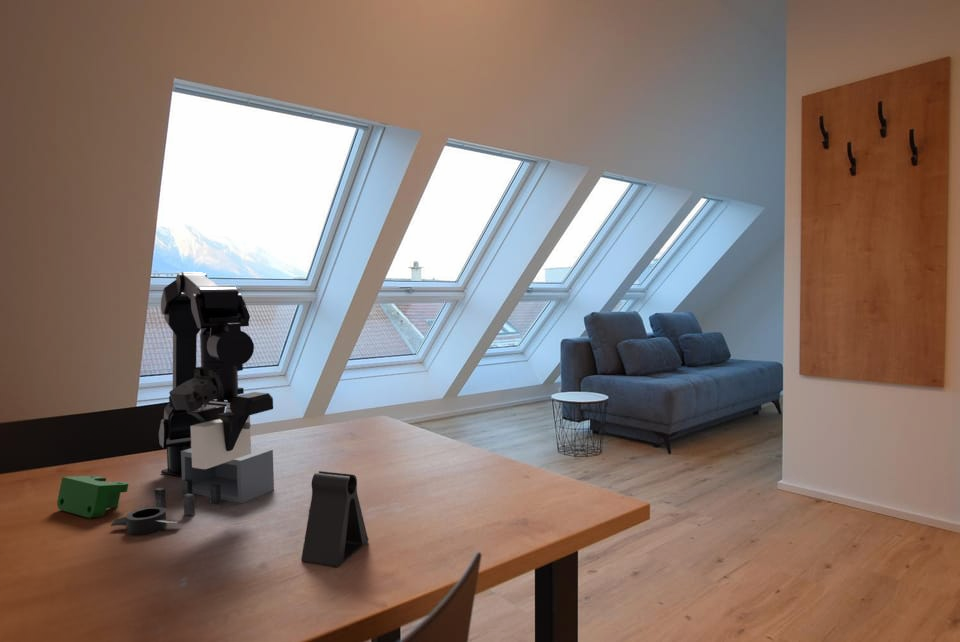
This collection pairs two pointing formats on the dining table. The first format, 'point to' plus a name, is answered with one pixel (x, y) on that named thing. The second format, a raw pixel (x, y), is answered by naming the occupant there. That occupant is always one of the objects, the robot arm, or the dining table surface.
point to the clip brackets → (188, 496)
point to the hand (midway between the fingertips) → (222, 449)
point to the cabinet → (233, 475)
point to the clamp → (89, 495)
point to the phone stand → (333, 520)
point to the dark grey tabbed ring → (144, 521)
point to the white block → (216, 444)
